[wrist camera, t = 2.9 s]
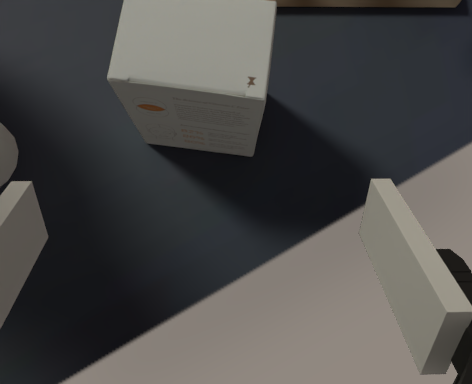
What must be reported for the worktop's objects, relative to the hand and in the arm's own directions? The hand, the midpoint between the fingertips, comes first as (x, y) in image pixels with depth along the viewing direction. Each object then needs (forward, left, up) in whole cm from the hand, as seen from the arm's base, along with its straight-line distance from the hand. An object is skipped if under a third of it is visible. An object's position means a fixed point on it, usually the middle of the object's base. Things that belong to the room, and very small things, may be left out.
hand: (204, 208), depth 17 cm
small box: (-1, +9, -13) cm, 16 cm away
